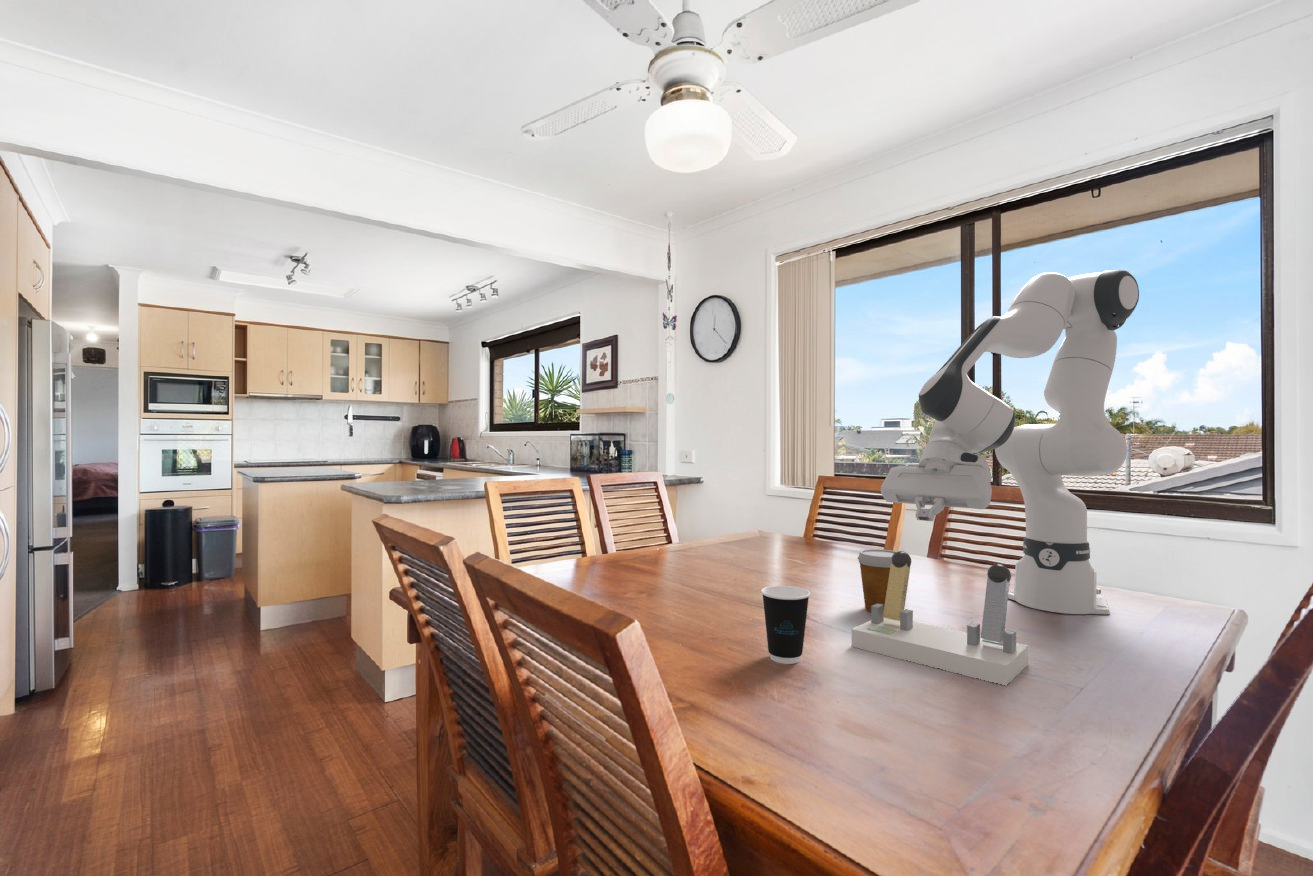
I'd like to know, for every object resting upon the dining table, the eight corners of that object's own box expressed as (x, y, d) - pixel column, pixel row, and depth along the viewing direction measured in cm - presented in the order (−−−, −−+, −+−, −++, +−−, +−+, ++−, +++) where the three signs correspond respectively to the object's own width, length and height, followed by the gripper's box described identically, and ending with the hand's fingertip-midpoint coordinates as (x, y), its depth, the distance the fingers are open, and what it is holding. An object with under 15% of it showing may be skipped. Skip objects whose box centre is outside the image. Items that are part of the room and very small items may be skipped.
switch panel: (881, 631, 115) (882, 598, 115) (1028, 664, 99) (1028, 626, 99) (851, 646, 107) (851, 611, 107) (1006, 686, 90) (1006, 644, 90)
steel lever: (983, 639, 100) (991, 565, 103) (1006, 644, 98) (1014, 568, 101) (977, 637, 98) (985, 560, 101) (1000, 642, 96) (1009, 563, 99)
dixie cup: (779, 670, 96) (780, 599, 96) (751, 654, 103) (751, 588, 103) (820, 663, 99) (821, 594, 99) (790, 647, 106) (790, 583, 106)
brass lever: (887, 619, 111) (897, 552, 114) (905, 623, 109) (915, 554, 112) (879, 616, 109) (889, 548, 112) (898, 620, 107) (908, 550, 110)
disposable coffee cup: (913, 617, 124) (913, 557, 124) (865, 617, 124) (865, 557, 124) (895, 604, 133) (895, 548, 133) (851, 604, 134) (851, 548, 134)
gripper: (888, 454, 132) (867, 503, 125) (993, 456, 117) (976, 512, 111) (896, 474, 135) (876, 523, 128) (1000, 479, 121) (984, 535, 114)
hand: (923, 518), depth 119 cm, fingers closed
